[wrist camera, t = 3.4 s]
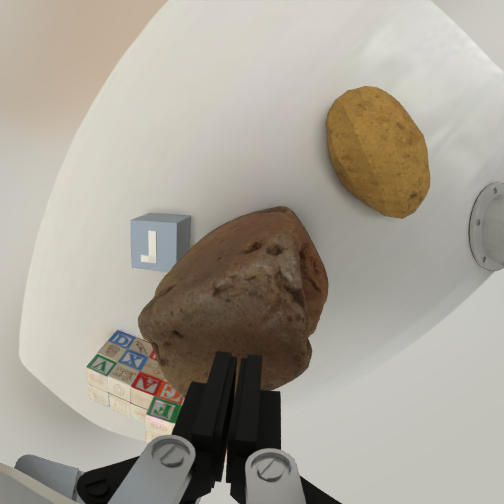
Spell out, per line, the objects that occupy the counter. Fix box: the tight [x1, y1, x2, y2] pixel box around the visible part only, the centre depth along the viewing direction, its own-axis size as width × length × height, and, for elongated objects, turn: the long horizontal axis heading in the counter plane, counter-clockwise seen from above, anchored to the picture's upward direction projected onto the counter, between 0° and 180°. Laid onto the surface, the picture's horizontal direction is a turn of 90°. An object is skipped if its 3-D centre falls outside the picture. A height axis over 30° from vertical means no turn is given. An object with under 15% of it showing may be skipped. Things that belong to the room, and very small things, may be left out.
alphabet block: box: [131, 213, 190, 272], centre depth 29 cm, size 5×5×5 cm
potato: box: [326, 86, 430, 219], centre depth 24 cm, size 10×13×9 cm
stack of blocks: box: [86, 330, 227, 465], centre depth 31 cm, size 21×6×12 cm, turn 73°
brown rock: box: [138, 206, 328, 399], centre depth 22 cm, size 11×8×20 cm
